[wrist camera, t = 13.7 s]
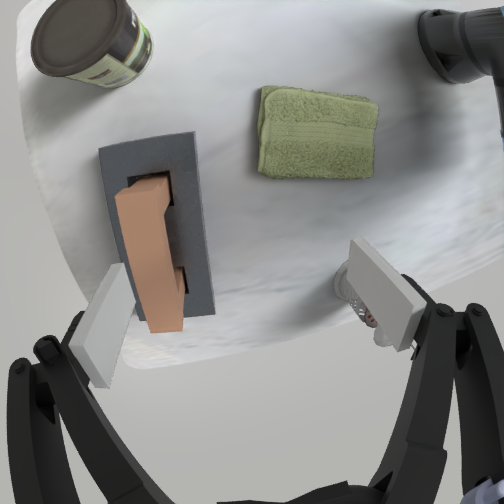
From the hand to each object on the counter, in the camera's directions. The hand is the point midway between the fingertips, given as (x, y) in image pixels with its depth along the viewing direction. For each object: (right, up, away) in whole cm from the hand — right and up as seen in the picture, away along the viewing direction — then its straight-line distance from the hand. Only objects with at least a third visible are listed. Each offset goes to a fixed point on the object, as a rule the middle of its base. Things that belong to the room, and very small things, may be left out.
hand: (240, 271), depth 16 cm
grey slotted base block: (-12, +4, +23) cm, 26 cm away
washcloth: (+10, +18, +21) cm, 29 cm away
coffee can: (-17, +27, +11) cm, 34 cm away
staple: (-12, +4, +23) cm, 26 cm away
